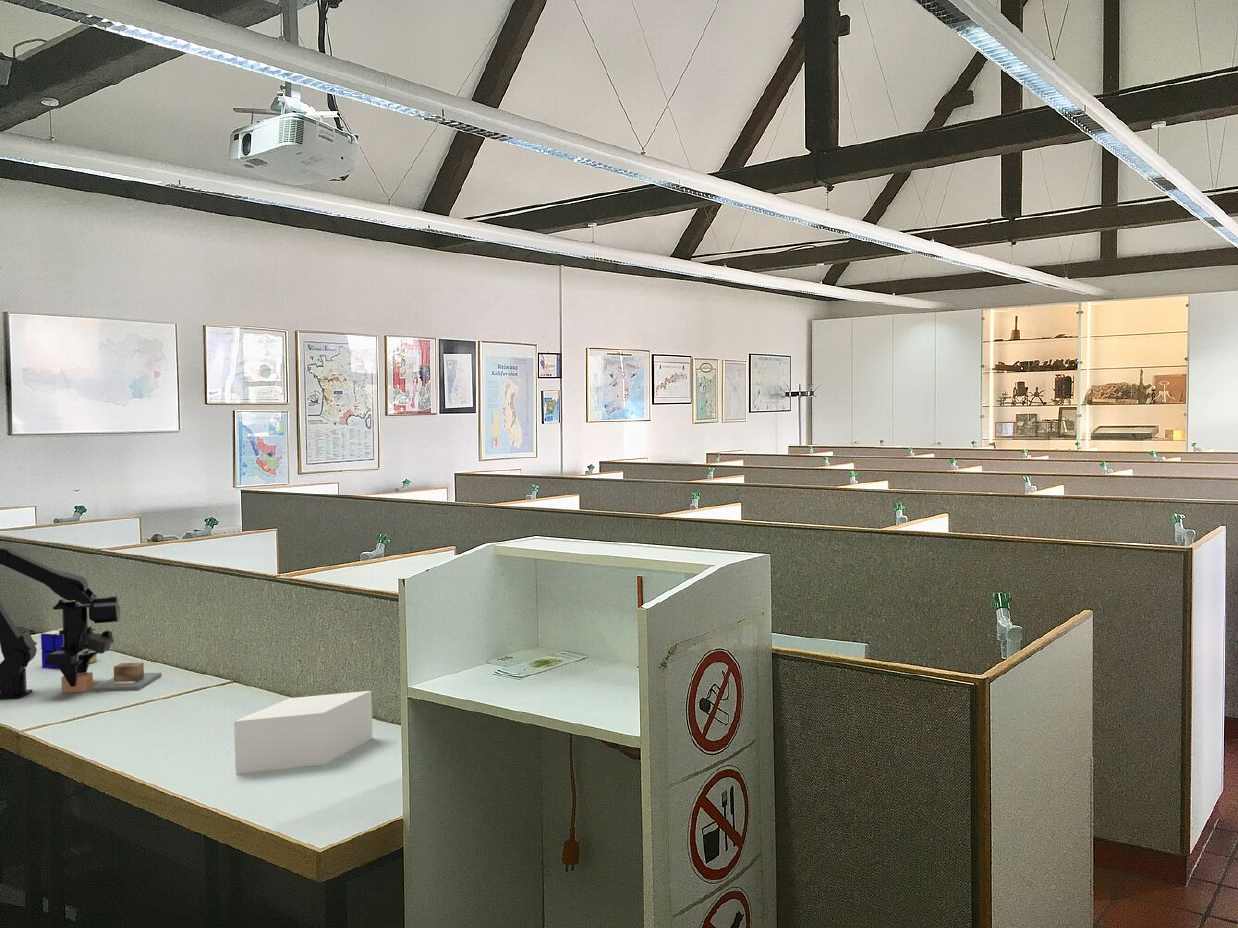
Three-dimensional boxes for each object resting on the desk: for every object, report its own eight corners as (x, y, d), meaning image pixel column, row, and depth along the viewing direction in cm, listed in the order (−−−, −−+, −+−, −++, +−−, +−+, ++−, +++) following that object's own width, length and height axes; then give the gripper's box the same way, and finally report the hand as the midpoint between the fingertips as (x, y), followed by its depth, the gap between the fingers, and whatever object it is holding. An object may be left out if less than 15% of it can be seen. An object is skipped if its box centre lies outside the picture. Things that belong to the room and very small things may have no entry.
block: (390, 746, 204) (389, 697, 203) (251, 784, 183) (250, 729, 182) (355, 730, 214) (354, 684, 214) (220, 765, 194) (219, 713, 193)
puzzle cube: (41, 668, 274) (39, 633, 274) (70, 659, 284) (69, 626, 283) (68, 670, 271) (67, 635, 271) (97, 661, 281) (96, 627, 280)
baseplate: (138, 690, 249) (138, 685, 249) (95, 691, 249) (95, 687, 249) (161, 676, 263) (161, 672, 263) (120, 677, 263) (120, 673, 263)
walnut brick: (143, 677, 258) (143, 662, 258) (137, 681, 254) (136, 666, 254) (121, 677, 258) (120, 663, 258) (114, 681, 254) (113, 666, 254)
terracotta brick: (93, 687, 253) (92, 672, 252) (86, 691, 249) (85, 676, 249) (69, 688, 252) (68, 673, 252) (61, 692, 248) (61, 677, 248)
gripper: (89, 631, 241) (91, 693, 241) (123, 616, 259) (125, 673, 260) (43, 632, 240) (45, 694, 241) (81, 617, 259) (83, 674, 259)
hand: (77, 683), depth 250 cm, fingers closed on terracotta brick, 4 cm apart
